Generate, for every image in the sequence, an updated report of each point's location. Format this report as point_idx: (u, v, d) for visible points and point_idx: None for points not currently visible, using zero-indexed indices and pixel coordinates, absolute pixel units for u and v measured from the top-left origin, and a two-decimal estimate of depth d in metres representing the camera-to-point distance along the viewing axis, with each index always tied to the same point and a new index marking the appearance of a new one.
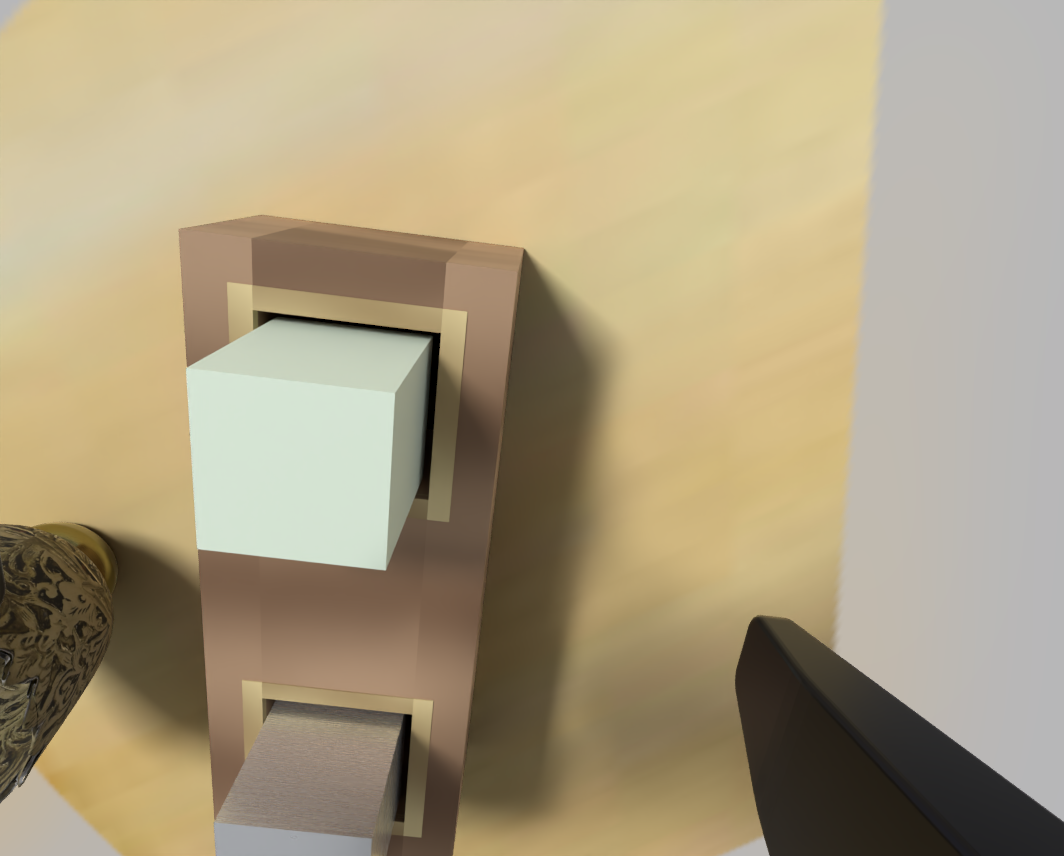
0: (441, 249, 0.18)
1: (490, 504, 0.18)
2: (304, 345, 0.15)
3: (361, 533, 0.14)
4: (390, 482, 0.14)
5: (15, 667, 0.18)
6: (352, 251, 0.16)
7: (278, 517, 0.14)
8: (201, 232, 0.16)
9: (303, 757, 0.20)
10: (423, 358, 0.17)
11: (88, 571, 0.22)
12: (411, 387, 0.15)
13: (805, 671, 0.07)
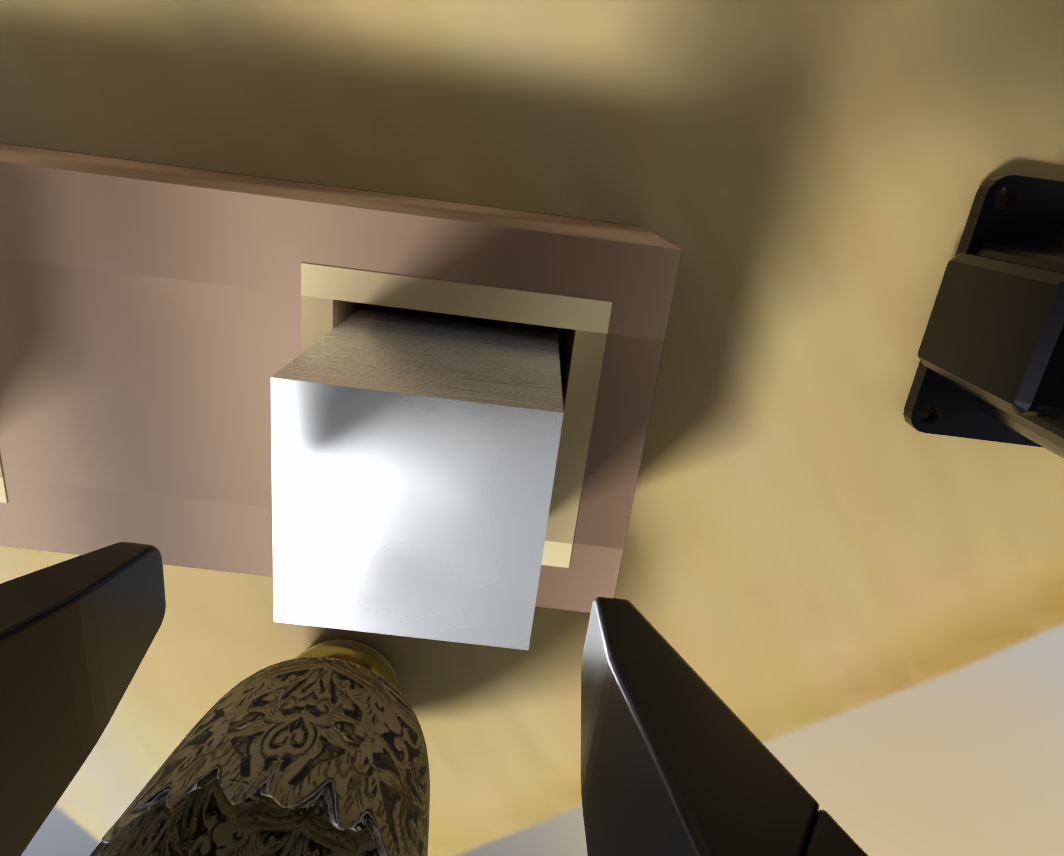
0: None
1: None
2: None
3: None
4: None
5: (175, 787, 0.14)
6: None
7: None
8: None
9: None
10: None
11: (257, 673, 0.19)
12: None
13: (616, 649, 0.07)
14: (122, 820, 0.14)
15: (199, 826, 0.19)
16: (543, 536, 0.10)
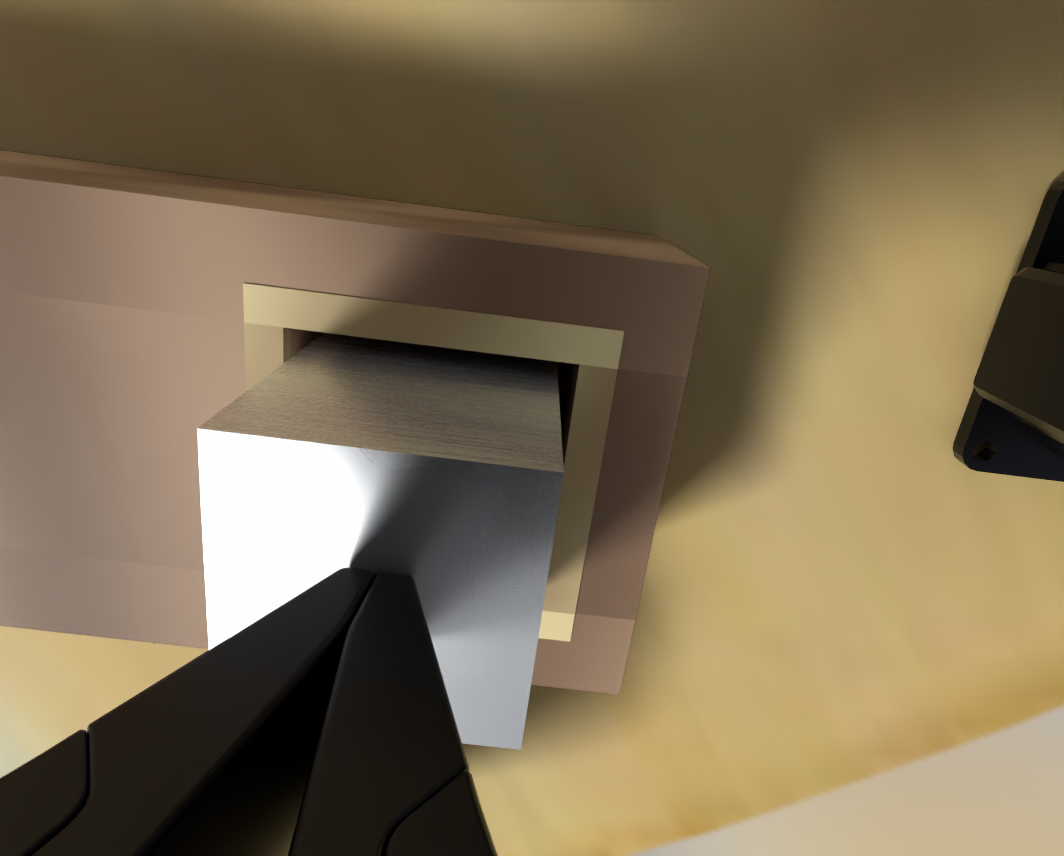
0: None
1: None
2: None
3: None
4: None
5: None
6: None
7: None
8: None
9: None
10: None
11: None
12: None
13: (359, 620, 0.07)
14: None
15: None
16: (538, 619, 0.08)
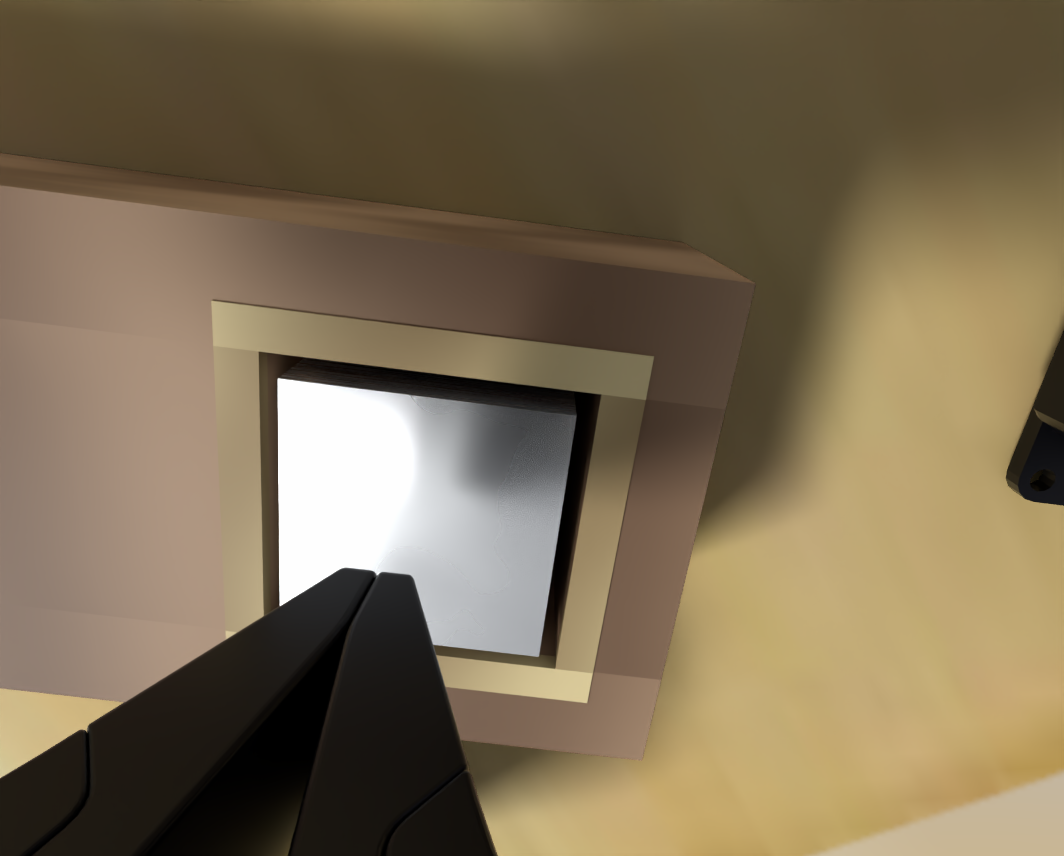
0: None
1: None
2: None
3: None
4: None
5: None
6: None
7: None
8: None
9: None
10: None
11: None
12: None
13: (359, 620, 0.07)
14: None
15: None
16: (554, 541, 0.10)
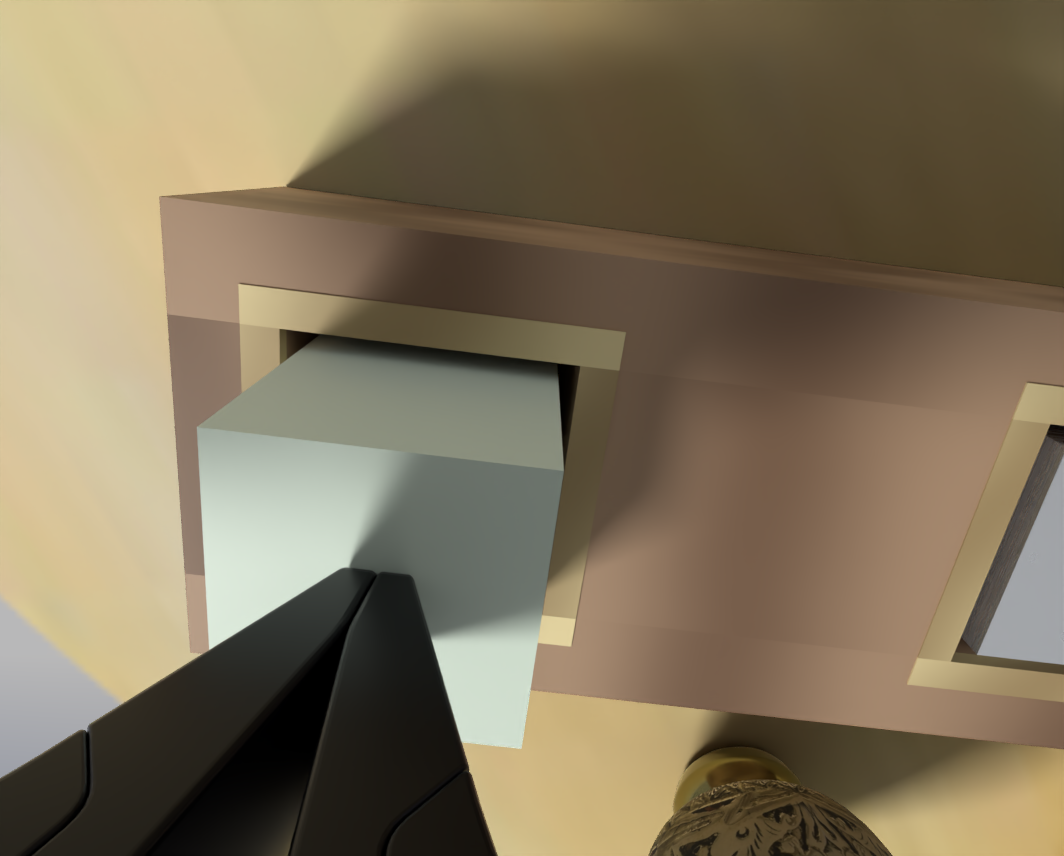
0: None
1: (592, 254, 0.10)
2: None
3: (482, 505, 0.08)
4: (376, 447, 0.08)
5: None
6: (178, 449, 0.11)
7: (457, 631, 0.08)
8: (190, 628, 0.12)
9: None
10: (316, 350, 0.11)
11: (716, 804, 0.16)
12: (301, 381, 0.09)
13: (359, 620, 0.07)
14: None
15: None
16: None
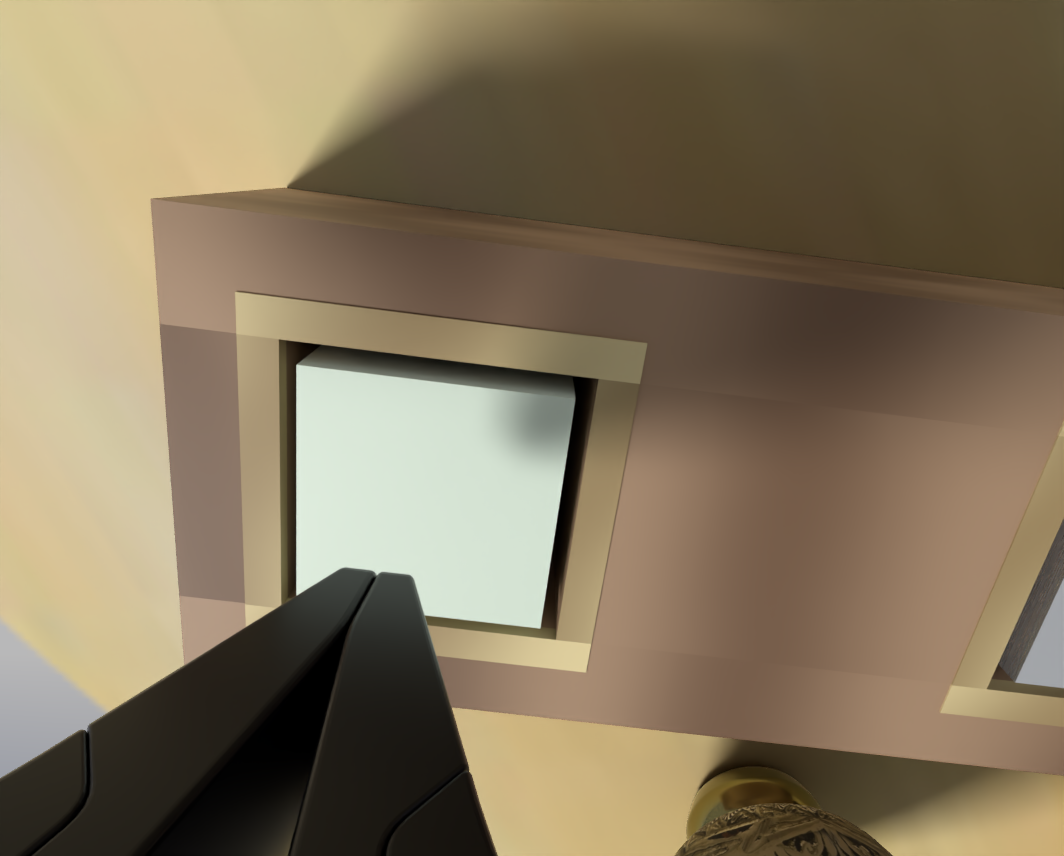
0: None
1: (612, 260, 0.09)
2: None
3: (513, 426, 0.10)
4: (432, 381, 0.10)
5: None
6: (171, 465, 0.11)
7: (491, 529, 0.11)
8: (185, 652, 0.12)
9: None
10: None
11: (734, 830, 0.16)
12: None
13: (359, 620, 0.07)
14: None
15: None
16: None
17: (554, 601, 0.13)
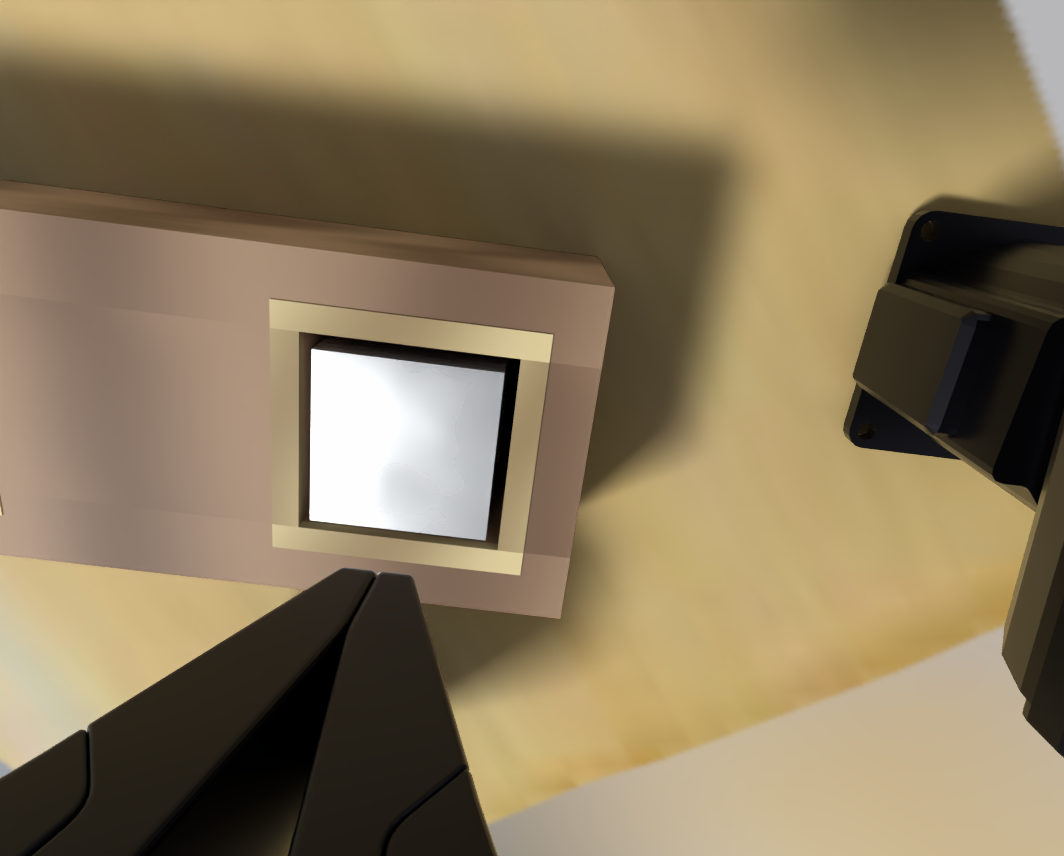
0: None
1: None
2: None
3: None
4: None
5: None
6: None
7: None
8: None
9: None
10: None
11: None
12: None
13: (359, 620, 0.07)
14: None
15: None
16: (493, 458, 0.15)
17: None
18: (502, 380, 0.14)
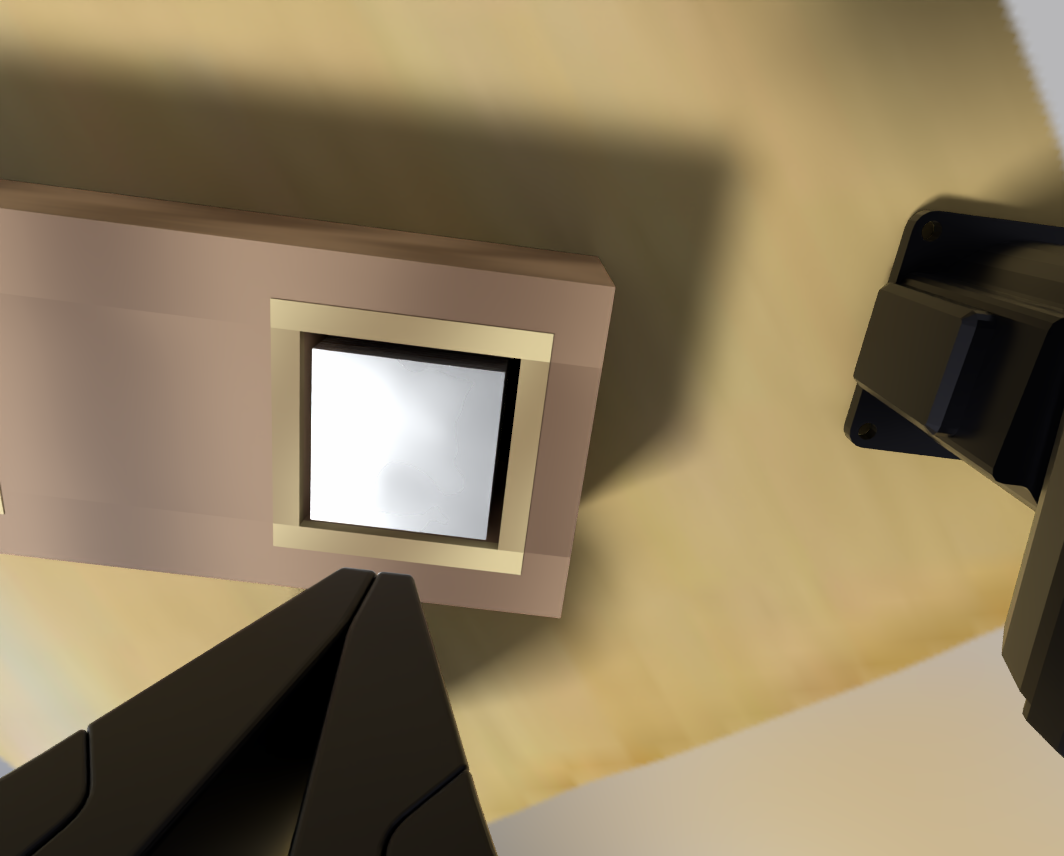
0: None
1: None
2: None
3: None
4: None
5: None
6: None
7: None
8: None
9: None
10: None
11: None
12: None
13: (358, 620, 0.07)
14: None
15: None
16: (493, 457, 0.15)
17: None
18: (502, 380, 0.14)
